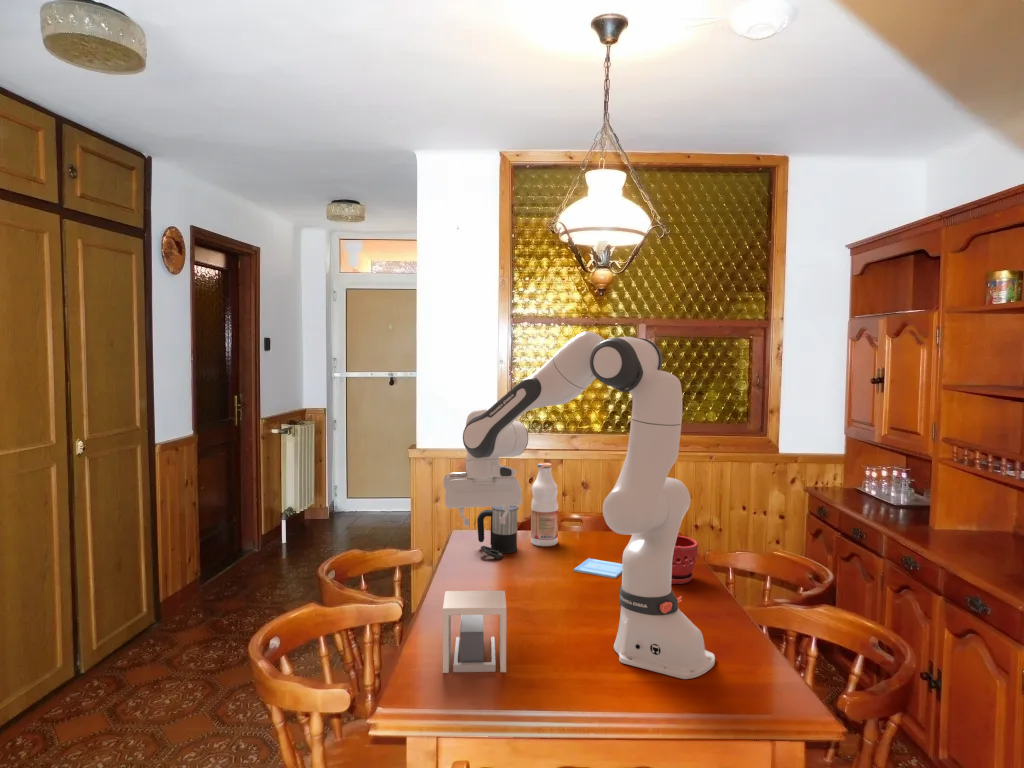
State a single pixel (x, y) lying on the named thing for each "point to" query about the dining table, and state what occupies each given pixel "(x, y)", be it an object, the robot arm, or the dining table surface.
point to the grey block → (471, 638)
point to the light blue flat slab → (600, 568)
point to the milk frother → (499, 531)
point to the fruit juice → (544, 508)
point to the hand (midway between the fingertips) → (484, 525)
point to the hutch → (474, 606)
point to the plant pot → (683, 559)
